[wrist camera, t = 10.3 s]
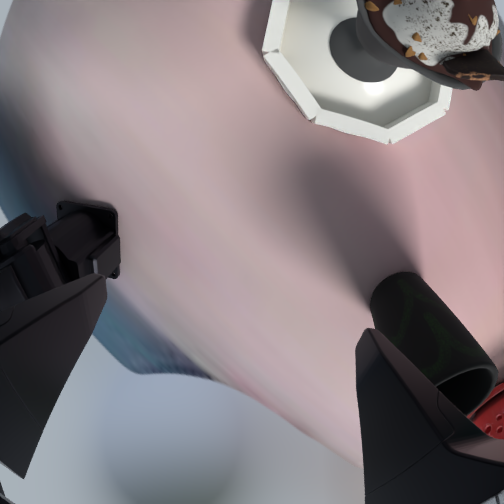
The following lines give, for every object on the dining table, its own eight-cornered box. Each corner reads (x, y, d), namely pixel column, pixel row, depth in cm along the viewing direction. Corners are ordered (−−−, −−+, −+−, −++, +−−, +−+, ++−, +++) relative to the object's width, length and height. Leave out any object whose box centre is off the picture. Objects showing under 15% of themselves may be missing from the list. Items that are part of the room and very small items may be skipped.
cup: (341, 313, 25) (368, 432, 14) (395, 245, 22) (466, 351, 11) (398, 340, 26) (434, 440, 15) (448, 283, 23) (512, 376, 12)
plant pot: (445, 423, 35) (463, 480, 24) (497, 371, 29) (527, 431, 18) (484, 419, 35) (502, 466, 25) (529, 373, 29) (555, 421, 19)
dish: (250, 111, 18) (248, 111, 16) (283, -43, 12) (284, -56, 10) (424, 159, 18) (436, 164, 17) (448, 13, 12) (461, 8, 11)
